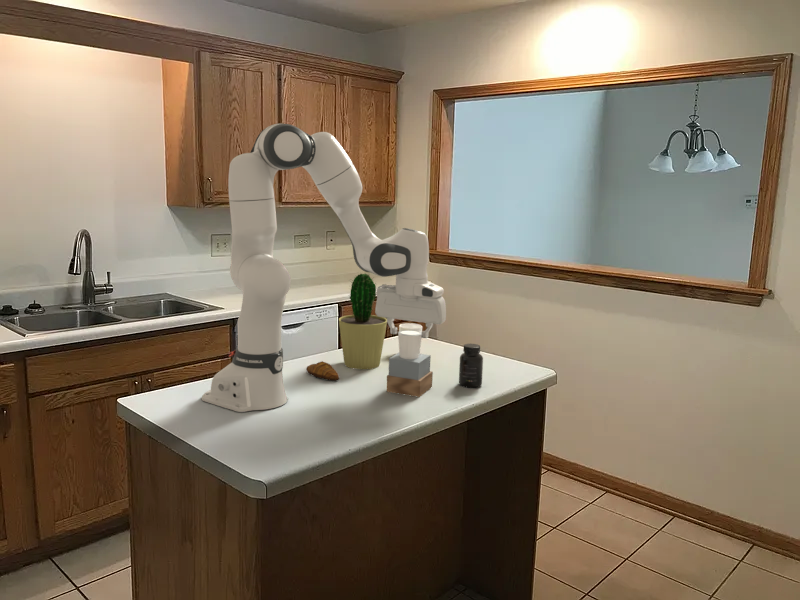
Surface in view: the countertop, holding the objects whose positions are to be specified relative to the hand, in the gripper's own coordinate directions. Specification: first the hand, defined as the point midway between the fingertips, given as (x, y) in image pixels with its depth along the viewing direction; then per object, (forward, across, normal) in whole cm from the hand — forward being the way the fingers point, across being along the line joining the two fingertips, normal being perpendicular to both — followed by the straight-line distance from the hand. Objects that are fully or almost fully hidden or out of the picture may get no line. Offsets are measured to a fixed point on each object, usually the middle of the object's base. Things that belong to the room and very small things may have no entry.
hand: (409, 335), depth 184 cm
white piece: (+6, 0, 0) cm, 6 cm away
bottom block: (+16, +1, 0) cm, 16 cm away
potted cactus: (+16, -22, +16) cm, 31 cm away
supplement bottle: (+16, +15, +12) cm, 25 cm away
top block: (+11, +1, 0) cm, 11 cm away
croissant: (+16, -27, -1) cm, 31 cm away
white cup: (+16, -13, +35) cm, 41 cm away
